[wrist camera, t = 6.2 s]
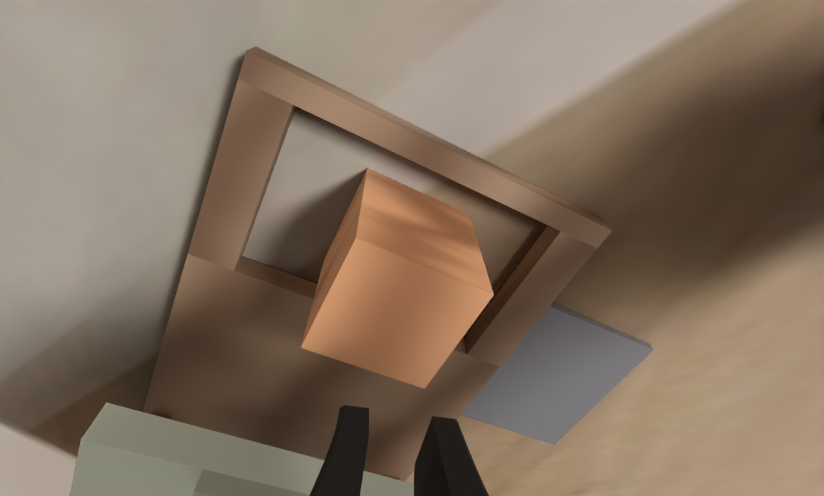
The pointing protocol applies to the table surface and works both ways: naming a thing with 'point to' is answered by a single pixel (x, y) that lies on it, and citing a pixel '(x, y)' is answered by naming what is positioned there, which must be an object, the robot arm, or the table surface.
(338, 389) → the brown wooden frame
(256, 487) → the cover
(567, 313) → the mat
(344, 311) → the block
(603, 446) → the table surface
